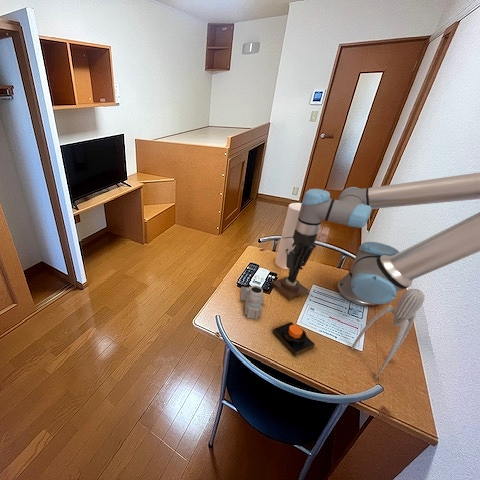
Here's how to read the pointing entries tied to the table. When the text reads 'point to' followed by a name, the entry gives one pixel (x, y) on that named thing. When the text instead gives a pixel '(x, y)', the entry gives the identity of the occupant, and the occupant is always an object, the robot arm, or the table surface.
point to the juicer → (399, 319)
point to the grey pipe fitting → (252, 300)
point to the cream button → (290, 283)
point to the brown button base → (289, 289)
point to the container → (287, 234)
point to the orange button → (295, 331)
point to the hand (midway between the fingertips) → (291, 280)
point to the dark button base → (293, 340)
